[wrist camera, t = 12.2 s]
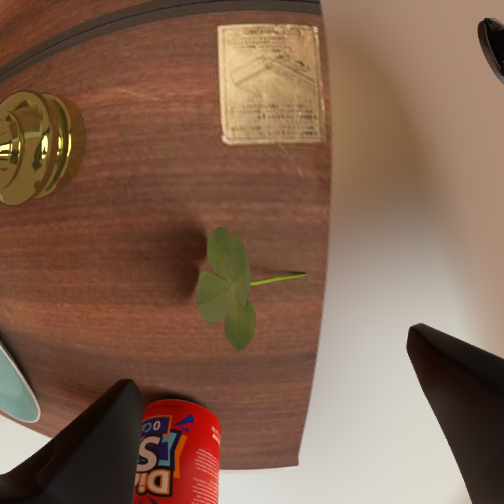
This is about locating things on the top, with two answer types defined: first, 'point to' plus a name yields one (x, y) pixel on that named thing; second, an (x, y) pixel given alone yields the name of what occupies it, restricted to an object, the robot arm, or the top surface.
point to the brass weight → (38, 145)
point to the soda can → (178, 454)
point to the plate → (16, 390)
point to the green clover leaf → (229, 288)
